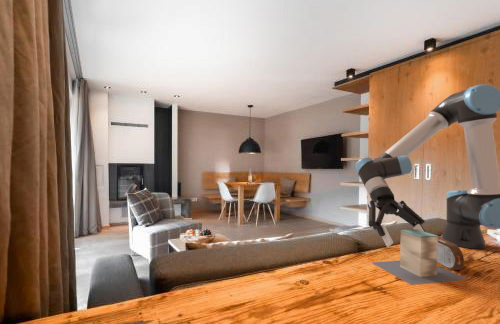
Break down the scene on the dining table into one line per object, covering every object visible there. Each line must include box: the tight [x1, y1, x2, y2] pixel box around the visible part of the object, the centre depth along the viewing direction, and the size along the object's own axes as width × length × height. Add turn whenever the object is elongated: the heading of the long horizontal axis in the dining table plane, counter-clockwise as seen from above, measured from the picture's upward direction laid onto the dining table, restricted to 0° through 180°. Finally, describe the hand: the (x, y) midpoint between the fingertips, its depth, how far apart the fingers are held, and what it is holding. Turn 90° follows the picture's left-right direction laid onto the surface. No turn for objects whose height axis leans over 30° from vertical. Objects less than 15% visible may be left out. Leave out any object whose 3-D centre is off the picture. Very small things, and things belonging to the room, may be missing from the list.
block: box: [399, 228, 439, 277], centre depth 85 cm, size 6×8×12 cm
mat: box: [370, 260, 470, 285], centre depth 86 cm, size 20×17×1 cm
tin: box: [437, 236, 465, 271], centre depth 92 cm, size 15×3×8 cm, turn 179°
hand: (408, 244), depth 87 cm, fingers open, 13 cm apart
